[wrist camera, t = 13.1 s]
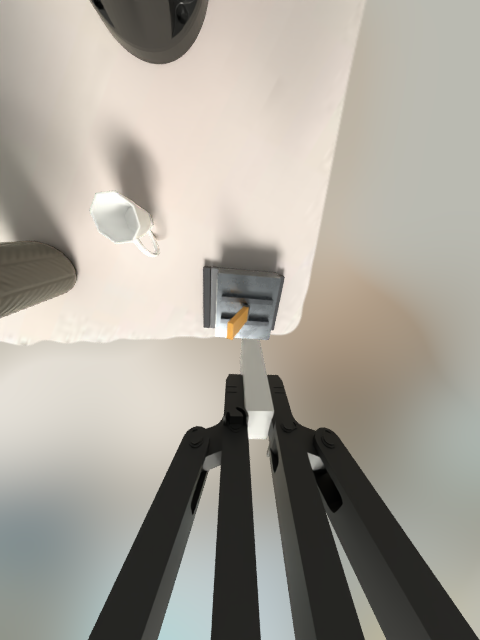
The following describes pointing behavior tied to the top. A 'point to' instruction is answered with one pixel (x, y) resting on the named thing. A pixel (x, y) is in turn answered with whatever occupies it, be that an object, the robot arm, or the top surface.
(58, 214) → the top surface
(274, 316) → the dark gray bar
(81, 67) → the top surface
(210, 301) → the gray slab
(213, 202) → the top surface
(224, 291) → the box
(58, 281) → the lamp
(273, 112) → the top surface
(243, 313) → the lever
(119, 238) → the cup
